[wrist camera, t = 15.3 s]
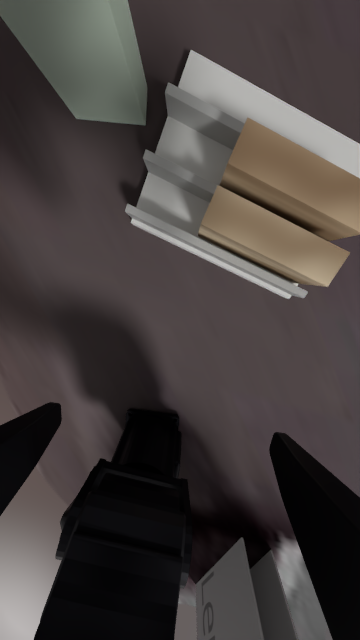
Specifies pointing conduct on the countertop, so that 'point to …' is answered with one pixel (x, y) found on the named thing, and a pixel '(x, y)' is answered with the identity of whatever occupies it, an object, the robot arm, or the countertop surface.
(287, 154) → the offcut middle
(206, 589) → the white cardboard box
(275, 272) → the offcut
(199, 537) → the countertop surface
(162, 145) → the rack
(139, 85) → the sage green block
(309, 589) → the countertop surface
